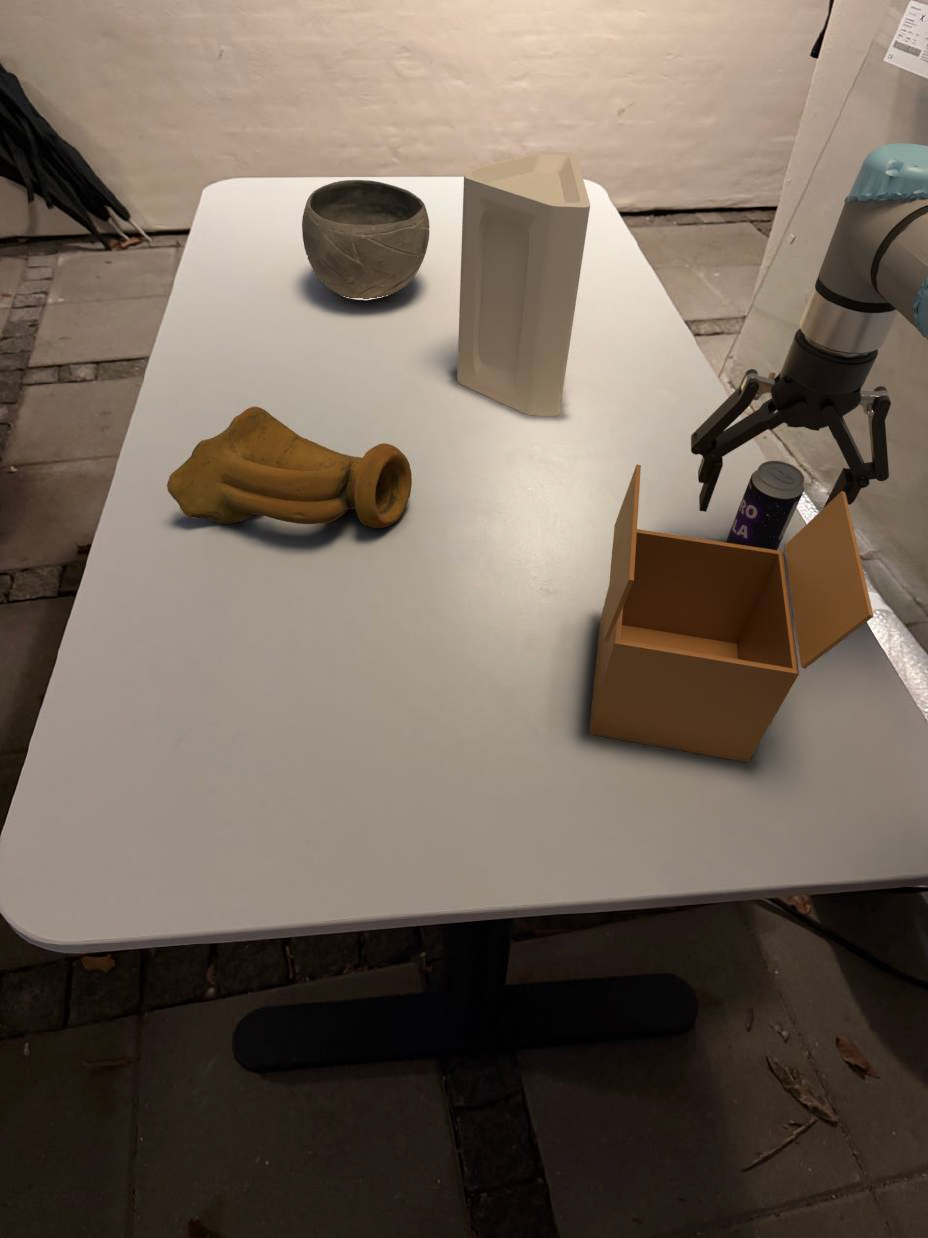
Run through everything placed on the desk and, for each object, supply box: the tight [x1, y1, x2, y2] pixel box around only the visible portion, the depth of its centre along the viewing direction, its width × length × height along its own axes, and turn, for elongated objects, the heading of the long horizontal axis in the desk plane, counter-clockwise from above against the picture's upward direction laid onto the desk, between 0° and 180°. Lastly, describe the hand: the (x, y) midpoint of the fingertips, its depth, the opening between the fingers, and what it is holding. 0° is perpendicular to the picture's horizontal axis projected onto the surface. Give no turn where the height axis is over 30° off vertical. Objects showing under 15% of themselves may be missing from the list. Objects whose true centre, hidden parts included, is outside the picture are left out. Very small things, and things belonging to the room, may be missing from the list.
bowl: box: [301, 179, 431, 299], centre depth 129 cm, size 21×21×15 cm
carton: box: [588, 464, 800, 763], centre depth 71 cm, size 16×15×21 cm
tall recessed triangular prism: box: [456, 151, 591, 417], centre depth 106 cm, size 19×15×28 cm
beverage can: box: [725, 460, 805, 550], centre depth 88 cm, size 6×6×12 cm
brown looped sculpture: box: [166, 406, 413, 529], centre depth 90 cm, size 18×13×22 cm
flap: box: [784, 491, 875, 670], centre depth 65 cm, size 7×15×1 cm
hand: (763, 513), depth 88 cm, fingers open, 13 cm apart
